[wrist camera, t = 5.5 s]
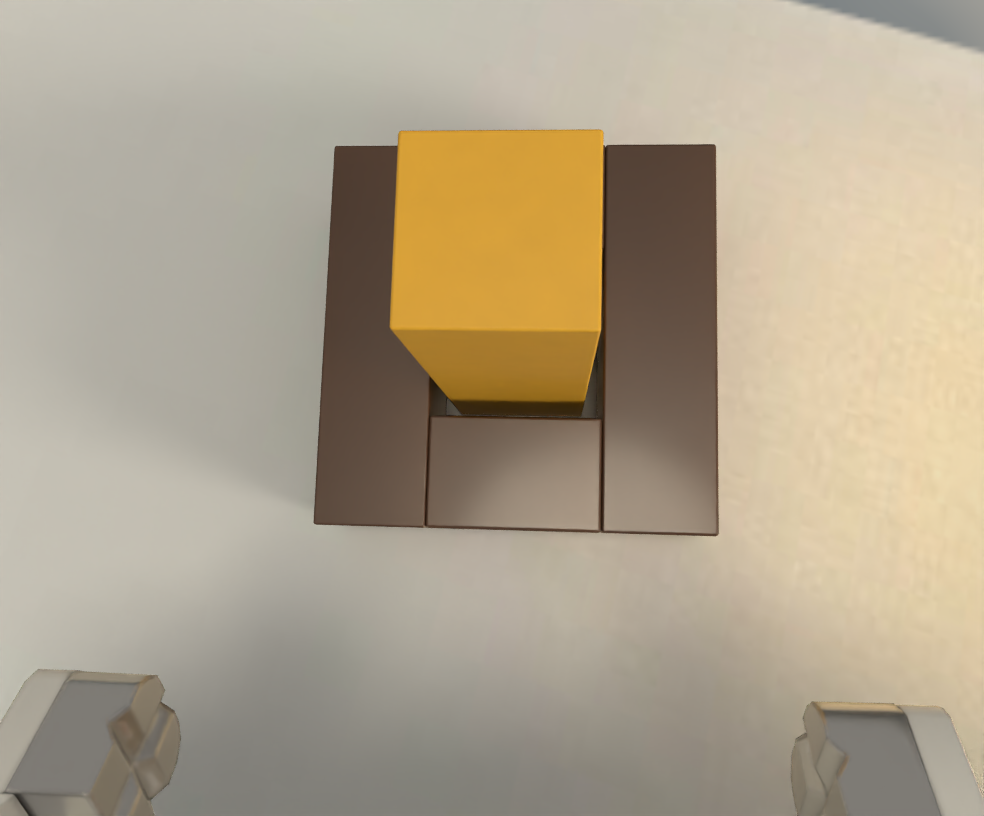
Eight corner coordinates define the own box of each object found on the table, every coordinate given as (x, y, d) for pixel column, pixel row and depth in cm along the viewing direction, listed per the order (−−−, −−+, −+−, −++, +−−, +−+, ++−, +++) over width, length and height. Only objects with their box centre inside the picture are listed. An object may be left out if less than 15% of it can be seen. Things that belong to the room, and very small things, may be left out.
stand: (695, 192, 23) (716, 142, 20) (697, 534, 22) (719, 536, 19) (361, 192, 24) (334, 144, 21) (344, 524, 23) (313, 524, 20)
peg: (583, 298, 23) (603, 127, 13) (581, 416, 23) (601, 331, 13) (464, 297, 23) (398, 129, 13) (460, 414, 23) (388, 329, 13)
